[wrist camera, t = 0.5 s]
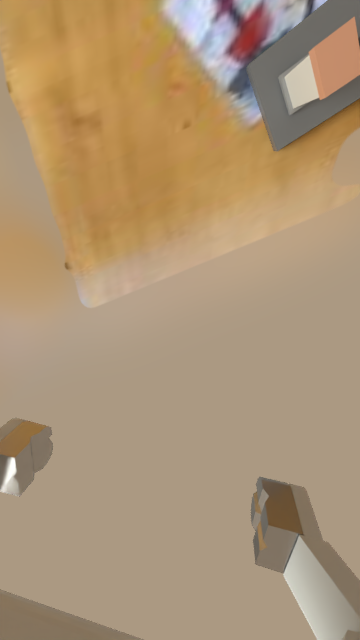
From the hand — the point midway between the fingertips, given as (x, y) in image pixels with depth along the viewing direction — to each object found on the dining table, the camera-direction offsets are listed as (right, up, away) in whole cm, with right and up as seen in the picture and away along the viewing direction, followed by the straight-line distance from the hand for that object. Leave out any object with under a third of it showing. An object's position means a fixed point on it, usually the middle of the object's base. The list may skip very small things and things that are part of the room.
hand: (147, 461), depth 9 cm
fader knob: (+18, +39, +26) cm, 51 cm away
